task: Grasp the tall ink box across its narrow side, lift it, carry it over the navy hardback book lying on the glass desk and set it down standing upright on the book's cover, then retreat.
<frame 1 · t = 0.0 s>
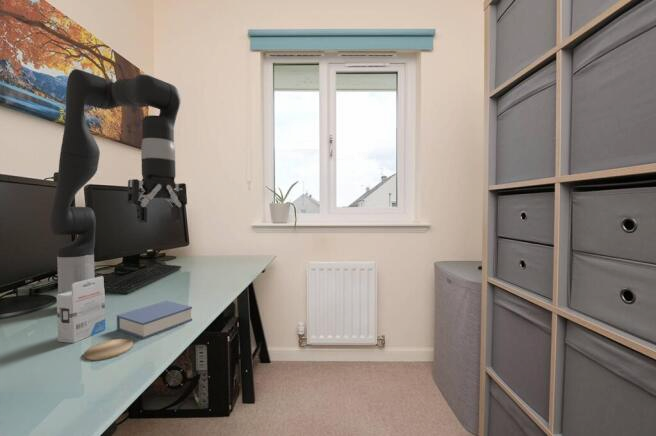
hand: (159, 221, 75), 29 cm above the table, fingers open, 8 cm apart
cork coaster: (109, 350, 67), on the table
ink box: (82, 336, 75), on the table
navy book: (156, 324, 82), on the table
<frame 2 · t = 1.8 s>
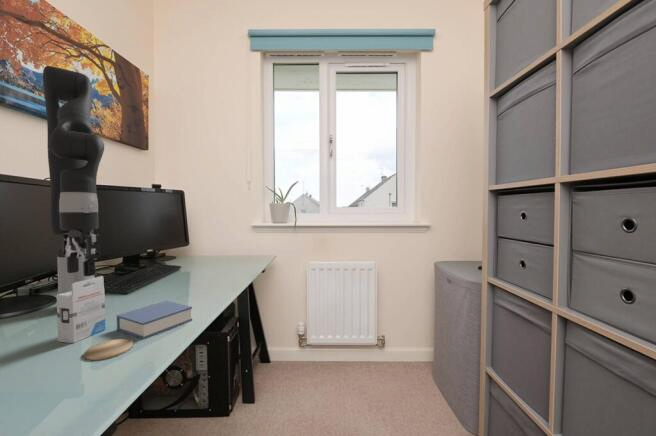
hand: (81, 274, 75), 16 cm above the table, fingers open, 8 cm apart
nothing on the table moved.
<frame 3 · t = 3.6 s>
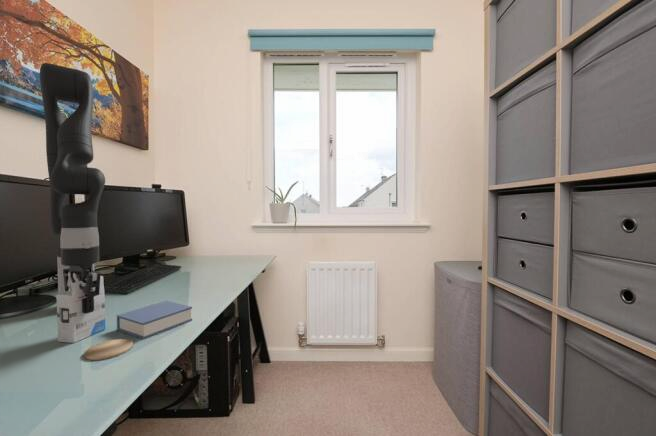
hand: (82, 310, 75), 7 cm above the table, fingers closed on ink box, 5 cm apart
ink box: (82, 336, 75), on the table, touching gripper
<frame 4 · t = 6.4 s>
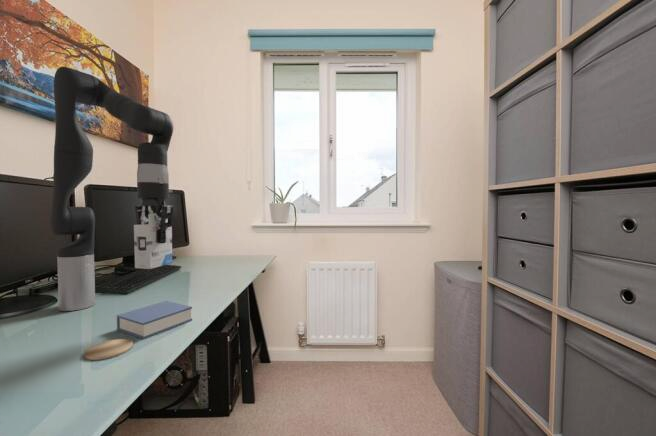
hand: (154, 242, 81), 23 cm above the table, fingers closed on ink box, 5 cm apart
ink box: (154, 266, 82), point 17 cm above the table, touching gripper
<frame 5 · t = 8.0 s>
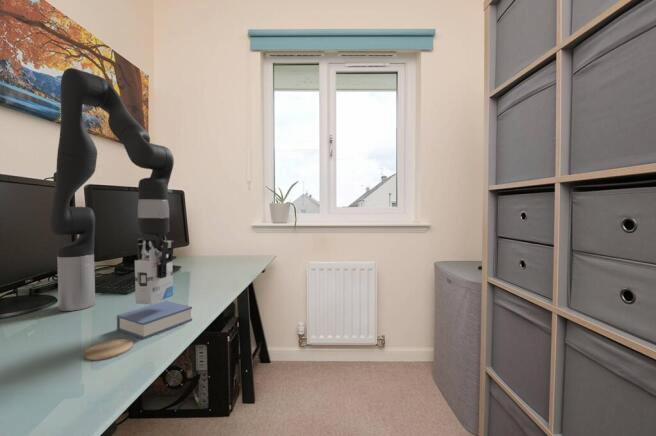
hand: (154, 276, 82), 14 cm above the table, fingers closed on ink box, 5 cm apart
ink box: (155, 300, 82), point 7 cm above the table, touching gripper
when the fingers open (11 cm above the table, at t = 9.4 s): ink box stays where it is, resting on navy book.
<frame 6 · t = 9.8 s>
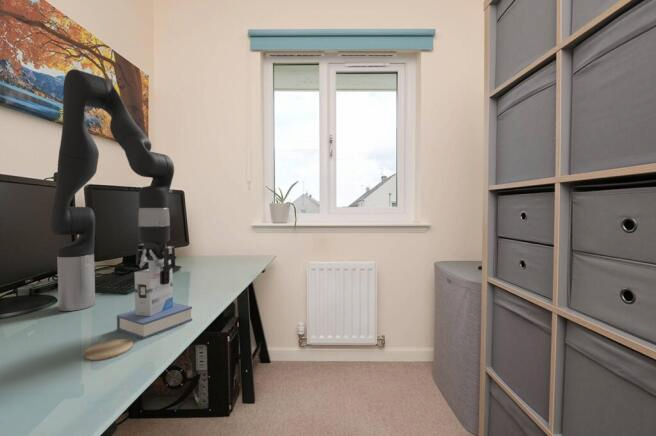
hand: (155, 282, 82), 12 cm above the table, fingers open, 8 cm apart
ink box: (154, 311, 82), point 4 cm above the table, touching navy book
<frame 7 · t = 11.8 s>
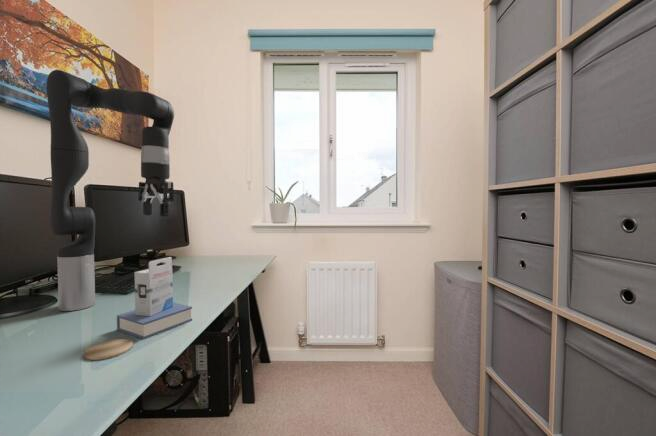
hand: (155, 215, 90), 30 cm above the table, fingers open, 8 cm apart
nothing on the table moved.
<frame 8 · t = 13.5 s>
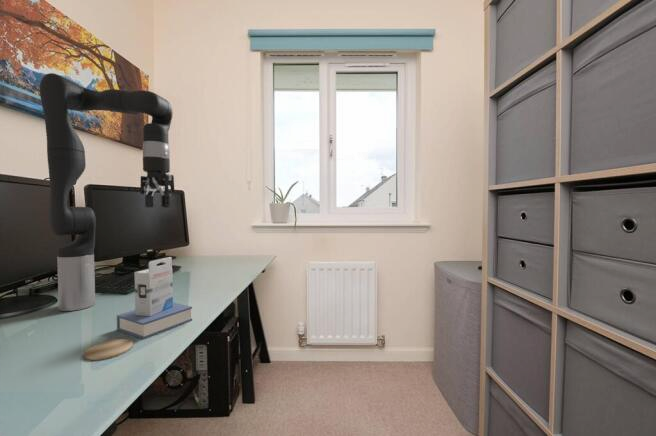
hand: (157, 207, 95), 33 cm above the table, fingers open, 8 cm apart
nothing on the table moved.
at the end: ink box inside the target area on the navy book (0.3 cm from its centre), point 3.8 cm above the navy book's base; ink box tilted 0°; the gripper is holding nothing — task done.
